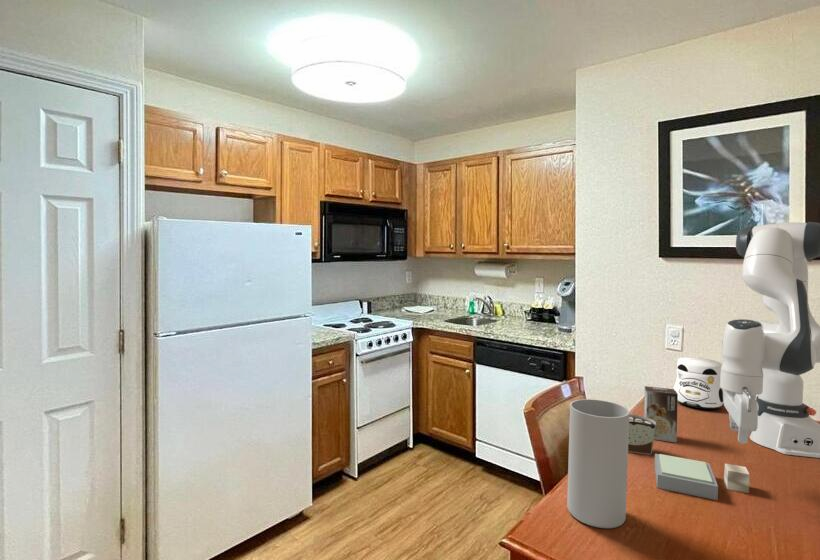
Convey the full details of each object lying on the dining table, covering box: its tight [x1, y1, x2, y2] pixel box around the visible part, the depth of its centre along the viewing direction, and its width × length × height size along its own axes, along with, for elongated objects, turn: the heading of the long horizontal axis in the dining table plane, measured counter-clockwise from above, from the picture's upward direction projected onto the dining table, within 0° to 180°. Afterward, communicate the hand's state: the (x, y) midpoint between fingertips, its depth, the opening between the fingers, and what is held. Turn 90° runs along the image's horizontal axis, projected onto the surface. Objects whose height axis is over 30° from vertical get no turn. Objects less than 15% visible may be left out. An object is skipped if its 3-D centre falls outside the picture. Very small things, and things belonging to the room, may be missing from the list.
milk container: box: [673, 356, 724, 410], centre depth 181 cm, size 17×17×18 cm
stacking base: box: [654, 453, 719, 501], centre depth 119 cm, size 13×14×4 cm
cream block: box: [723, 463, 750, 494], centre depth 116 cm, size 4×4×5 cm
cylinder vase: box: [566, 398, 630, 529], centre depth 103 cm, size 12×12×25 cm
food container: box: [628, 413, 658, 456], centre depth 139 cm, size 12×6×10 cm, turn 71°
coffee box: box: [643, 385, 679, 443], centre depth 148 cm, size 9×6×16 cm
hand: (738, 435), depth 115 cm, fingers open, 8 cm apart
